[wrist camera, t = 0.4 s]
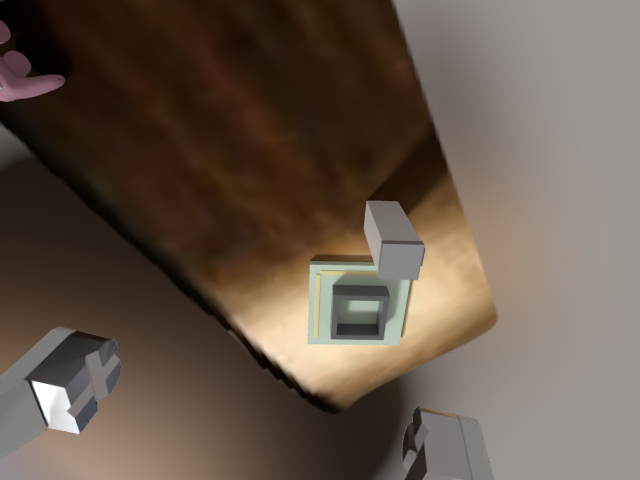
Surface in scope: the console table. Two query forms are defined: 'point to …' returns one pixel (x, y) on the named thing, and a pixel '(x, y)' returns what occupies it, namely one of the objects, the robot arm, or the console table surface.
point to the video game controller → (21, 74)
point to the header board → (354, 305)
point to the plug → (392, 241)
